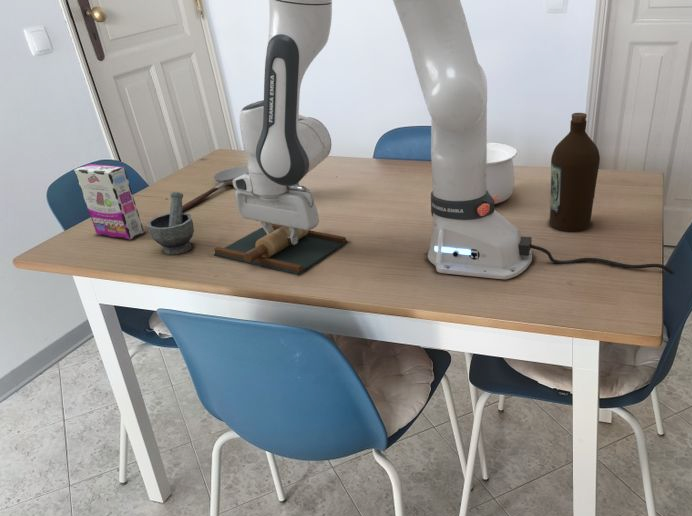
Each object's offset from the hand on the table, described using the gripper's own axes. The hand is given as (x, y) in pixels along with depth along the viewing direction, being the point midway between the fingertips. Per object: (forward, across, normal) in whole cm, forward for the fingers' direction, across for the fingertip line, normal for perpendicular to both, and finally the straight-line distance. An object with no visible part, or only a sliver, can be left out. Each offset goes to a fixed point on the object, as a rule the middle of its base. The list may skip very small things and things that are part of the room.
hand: (283, 241), depth 142 cm
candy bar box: (+2, +44, +9) cm, 45 cm away
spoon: (+2, +43, -20) cm, 47 cm away
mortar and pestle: (+2, +24, +9) cm, 26 cm away
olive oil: (+2, -54, -39) cm, 67 cm away
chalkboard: (+2, +1, 0) cm, 2 cm away
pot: (+2, -28, -46) cm, 54 cm away
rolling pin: (+2, 0, 0) cm, 2 cm away
